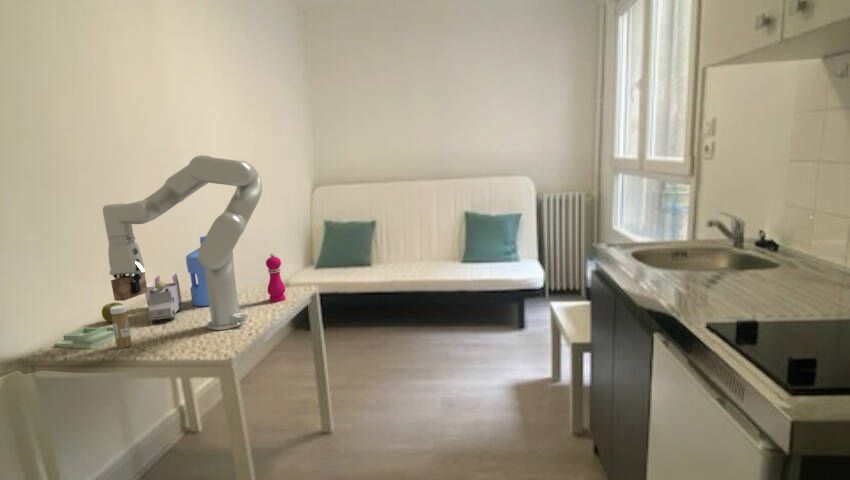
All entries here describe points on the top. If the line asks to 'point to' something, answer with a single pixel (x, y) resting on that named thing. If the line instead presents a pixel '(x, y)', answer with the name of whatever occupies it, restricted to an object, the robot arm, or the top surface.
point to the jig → (87, 337)
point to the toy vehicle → (164, 300)
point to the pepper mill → (275, 279)
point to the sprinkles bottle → (121, 326)
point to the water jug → (194, 267)
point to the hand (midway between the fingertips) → (130, 292)
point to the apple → (108, 311)
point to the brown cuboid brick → (127, 288)
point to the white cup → (149, 288)
